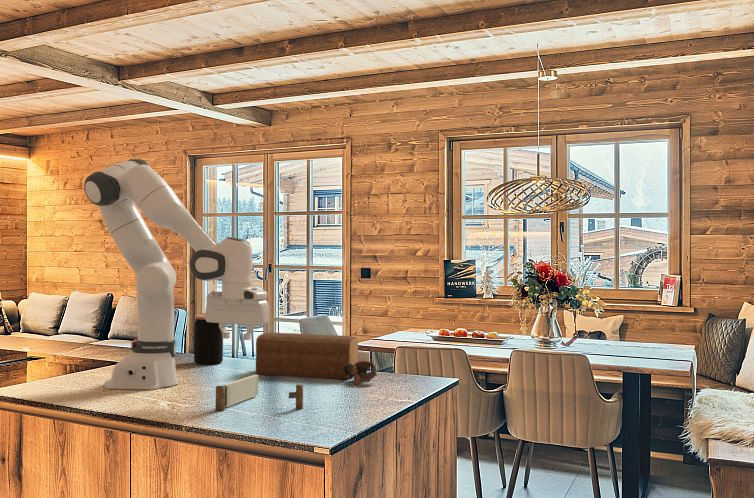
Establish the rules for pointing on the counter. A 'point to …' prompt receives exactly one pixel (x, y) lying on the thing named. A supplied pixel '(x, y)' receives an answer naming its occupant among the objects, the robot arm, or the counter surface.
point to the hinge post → (220, 398)
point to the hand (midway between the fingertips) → (236, 339)
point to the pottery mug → (360, 371)
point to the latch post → (298, 396)
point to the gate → (241, 390)
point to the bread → (305, 355)
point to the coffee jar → (207, 342)
